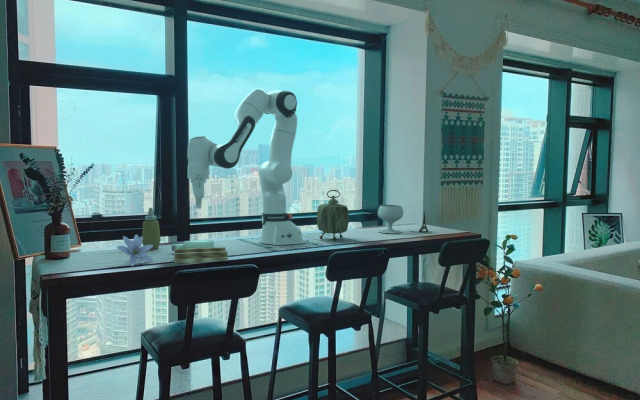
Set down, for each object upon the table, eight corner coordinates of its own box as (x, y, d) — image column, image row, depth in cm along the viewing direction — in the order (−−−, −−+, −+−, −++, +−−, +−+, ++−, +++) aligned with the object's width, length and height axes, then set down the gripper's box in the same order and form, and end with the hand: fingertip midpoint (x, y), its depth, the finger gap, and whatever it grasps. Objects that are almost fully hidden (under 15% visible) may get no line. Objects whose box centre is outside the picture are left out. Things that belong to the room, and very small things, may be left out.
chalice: (388, 230, 278) (388, 203, 277) (408, 232, 268) (408, 205, 267) (372, 232, 269) (372, 205, 268) (391, 235, 259) (392, 207, 257)
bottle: (213, 250, 212) (212, 239, 211) (213, 252, 207) (213, 240, 207) (171, 252, 207) (171, 240, 207) (171, 254, 202) (171, 242, 202)
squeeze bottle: (154, 250, 210) (154, 209, 208) (137, 249, 211) (136, 208, 210) (164, 247, 218) (163, 207, 216) (147, 246, 219) (147, 206, 218)
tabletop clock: (343, 237, 250) (344, 189, 248) (349, 240, 241) (350, 190, 239) (316, 238, 245) (317, 189, 243) (322, 241, 237) (322, 190, 235)
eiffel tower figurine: (406, 231, 275) (407, 208, 274) (417, 230, 282) (418, 207, 281) (428, 235, 264) (429, 210, 263) (439, 233, 271) (440, 209, 270)
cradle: (224, 255, 202) (224, 246, 202) (227, 260, 190) (227, 252, 190) (174, 257, 196) (174, 248, 196) (174, 263, 185) (174, 254, 184)
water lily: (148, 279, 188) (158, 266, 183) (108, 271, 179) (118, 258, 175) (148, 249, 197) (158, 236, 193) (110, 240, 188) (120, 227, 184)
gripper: (207, 175, 196) (207, 209, 197) (204, 173, 215) (204, 204, 217) (191, 175, 194) (191, 209, 195) (190, 173, 214) (190, 205, 215)
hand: (198, 207), depth 206 cm, fingers open, 8 cm apart
